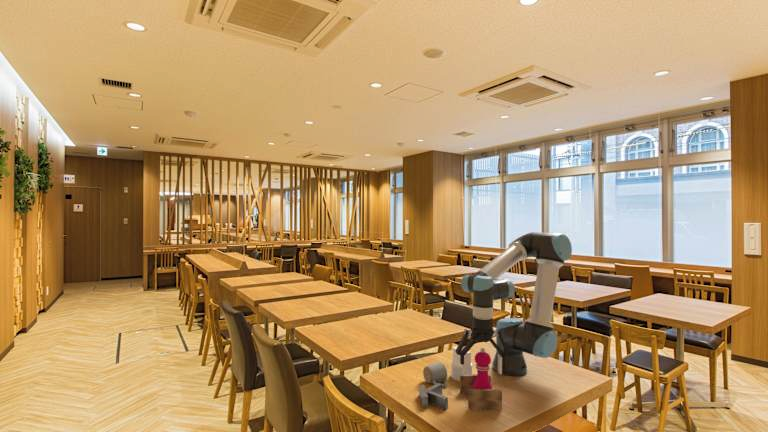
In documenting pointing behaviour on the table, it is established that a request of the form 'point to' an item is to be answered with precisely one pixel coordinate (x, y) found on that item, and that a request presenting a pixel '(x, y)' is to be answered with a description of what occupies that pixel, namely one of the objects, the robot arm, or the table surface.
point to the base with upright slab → (457, 367)
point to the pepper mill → (482, 370)
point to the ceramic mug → (435, 373)
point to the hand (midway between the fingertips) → (482, 372)
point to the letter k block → (433, 396)
